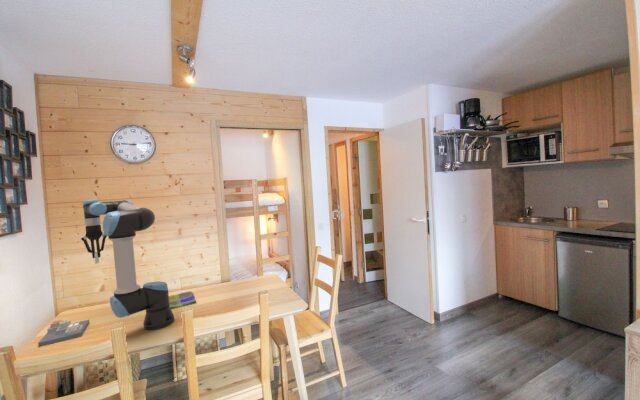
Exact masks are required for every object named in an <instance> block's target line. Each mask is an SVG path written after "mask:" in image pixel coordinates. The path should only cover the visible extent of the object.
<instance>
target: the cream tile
mask: <svg viewBox="0 0 640 400" xmlns="http://www.w3.org/2000/svg"><path fill="white" fill-rule="evenodd" d="M73 323H74V324H70V325H69V326H68V331H71V330H76V329H79V327H80V324H79V323H76V322H73Z"/></svg>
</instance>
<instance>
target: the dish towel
mask: <svg viewBox="0 0 640 400" xmlns="http://www.w3.org/2000/svg"><path fill="white" fill-rule="evenodd" d="M196 302H197V300H196V299H195V294H194V293H193V292H192V291H186V292H181V293H177V294H173V295H169V305H170V309H171V310H175V309H180V308H183V307H188V306H191V305H196Z"/></svg>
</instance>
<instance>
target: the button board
mask: <svg viewBox="0 0 640 400" xmlns="http://www.w3.org/2000/svg"><path fill="white" fill-rule="evenodd" d="M74 323H79V324H80V327H79V329H76V330H71V331H68V328H64V329H60V330H59V326H58V327H54V328H51V325H50V326H49V327H48V328H47V332H46V334H44V336H42V338H41V339H40V341H38V343H37V344H38V347H39V348H40V347H44V346H49V345H52V344H56V343H60V342H64V341H69V340H73V339H76V338H81V337H82V336H83V335H84V333H85V331H86V330H87V328H88V326H89V325H90V319H85V320H81V321H77V322H71V324H74Z"/></svg>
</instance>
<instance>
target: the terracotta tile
mask: <svg viewBox="0 0 640 400" xmlns="http://www.w3.org/2000/svg"><path fill="white" fill-rule="evenodd" d="M61 321H63V319H59V320H53V321H52V322H51V323H50V326H51V328H54V327H58V326H59V323H60V322H61Z"/></svg>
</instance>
